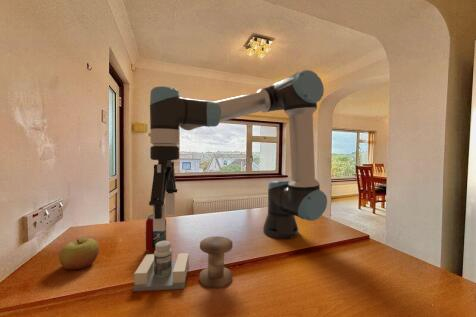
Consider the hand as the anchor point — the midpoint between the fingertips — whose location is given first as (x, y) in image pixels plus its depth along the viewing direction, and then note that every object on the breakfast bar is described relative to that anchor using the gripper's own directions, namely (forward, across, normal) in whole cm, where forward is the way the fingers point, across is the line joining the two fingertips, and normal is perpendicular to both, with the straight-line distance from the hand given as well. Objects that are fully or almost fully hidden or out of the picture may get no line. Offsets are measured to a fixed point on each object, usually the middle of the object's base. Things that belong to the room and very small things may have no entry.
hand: (165, 221), depth 60 cm
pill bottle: (+15, 0, -1) cm, 15 cm away
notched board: (+16, 0, 0) cm, 16 cm away
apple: (+16, -8, -27) cm, 32 cm away
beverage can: (+16, -17, -7) cm, 24 cm away
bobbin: (+16, +2, +14) cm, 21 cm away
